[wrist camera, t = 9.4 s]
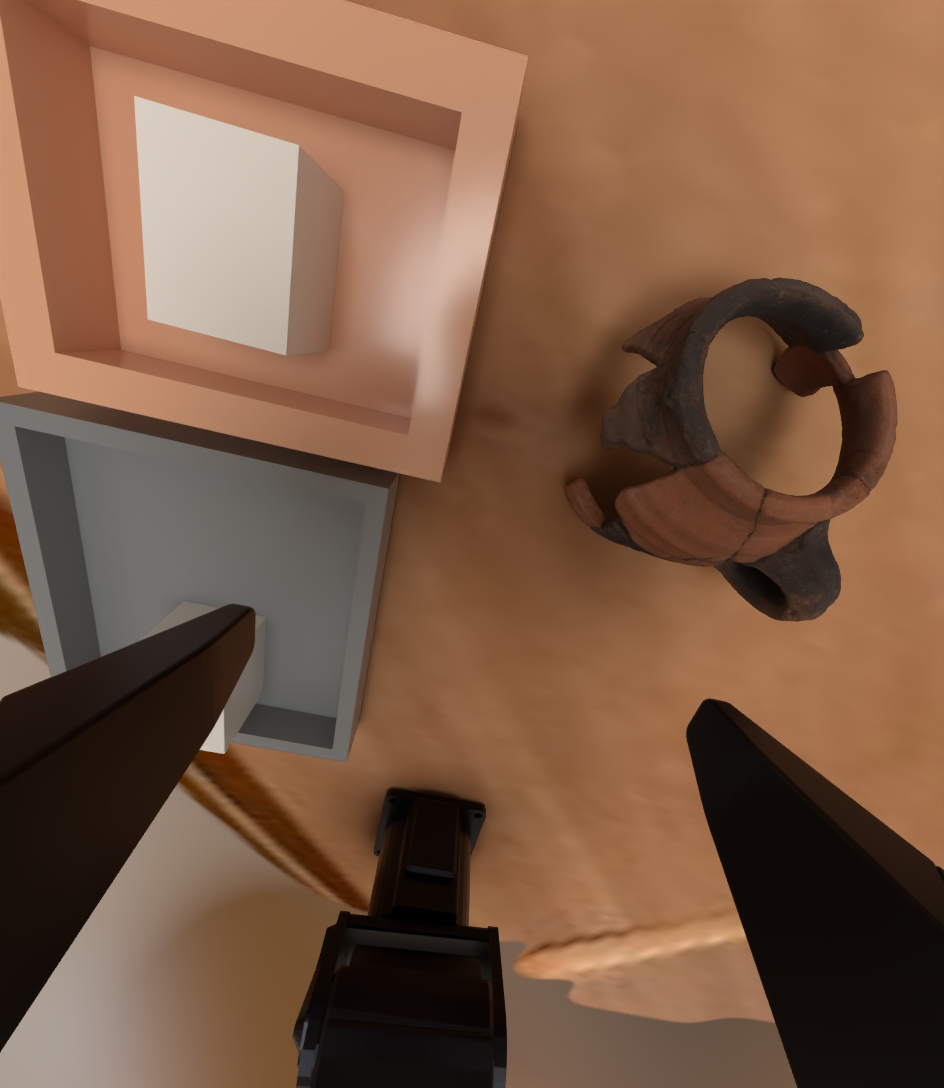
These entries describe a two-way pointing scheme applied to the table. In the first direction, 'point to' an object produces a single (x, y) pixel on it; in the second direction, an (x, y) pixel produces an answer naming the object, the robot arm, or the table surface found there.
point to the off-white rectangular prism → (246, 686)
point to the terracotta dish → (287, 114)
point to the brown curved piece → (709, 474)
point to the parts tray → (202, 551)
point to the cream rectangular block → (236, 232)
